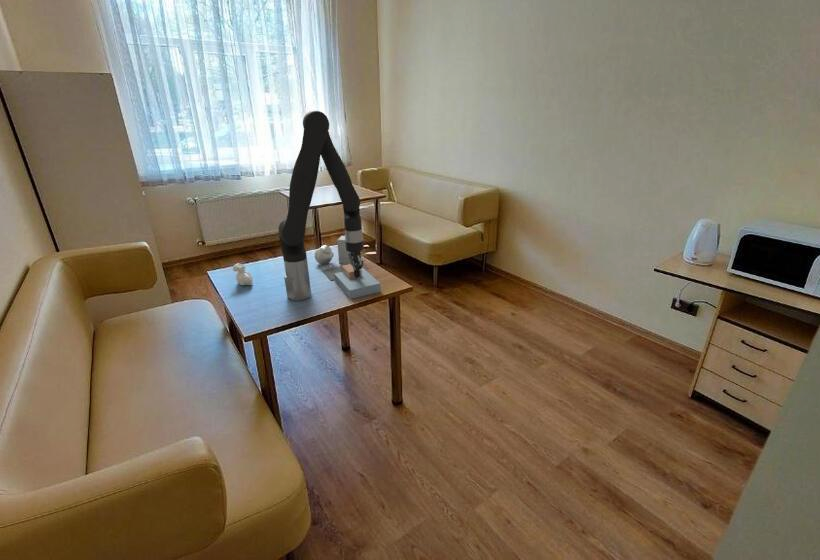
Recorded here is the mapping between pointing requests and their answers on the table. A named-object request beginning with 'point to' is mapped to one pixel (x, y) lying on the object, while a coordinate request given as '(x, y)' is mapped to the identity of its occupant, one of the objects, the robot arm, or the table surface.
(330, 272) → the mat
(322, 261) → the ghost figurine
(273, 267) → the table surface
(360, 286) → the block
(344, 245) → the supplement box
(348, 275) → the tan rectangular block
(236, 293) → the table surface
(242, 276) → the duck figurine
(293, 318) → the table surface
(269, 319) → the table surface
